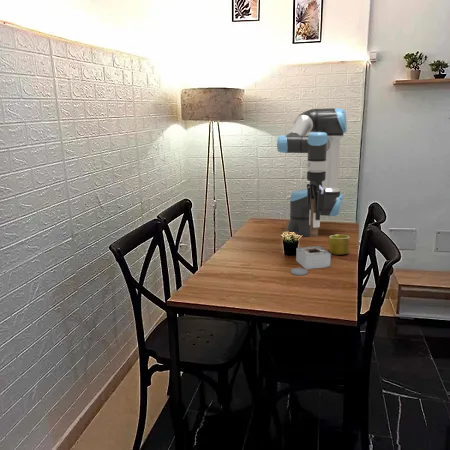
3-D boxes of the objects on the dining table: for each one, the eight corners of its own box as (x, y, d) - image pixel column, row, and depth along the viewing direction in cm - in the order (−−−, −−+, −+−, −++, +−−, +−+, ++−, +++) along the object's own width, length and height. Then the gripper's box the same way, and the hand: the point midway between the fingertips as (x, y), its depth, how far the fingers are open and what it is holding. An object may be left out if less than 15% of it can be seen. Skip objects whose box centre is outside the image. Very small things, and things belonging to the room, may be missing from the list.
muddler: (308, 234, 188) (309, 198, 183) (316, 234, 189) (317, 198, 184) (311, 237, 185) (313, 200, 180) (319, 236, 185) (320, 199, 181)
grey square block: (296, 260, 194) (296, 247, 192) (319, 258, 196) (319, 245, 194) (305, 269, 183) (306, 255, 182) (330, 266, 186) (330, 253, 184)
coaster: (288, 270, 183) (288, 268, 182) (303, 268, 184) (303, 267, 184) (294, 276, 176) (294, 274, 176) (310, 274, 178) (310, 273, 177)
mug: (354, 253, 196) (347, 232, 196) (331, 259, 199) (325, 238, 199) (353, 250, 208) (347, 230, 208) (332, 255, 210) (326, 235, 210)
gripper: (300, 168, 186) (298, 221, 192) (316, 174, 170) (314, 231, 177) (316, 167, 187) (314, 220, 194) (333, 173, 172) (331, 230, 178)
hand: (314, 225), depth 185 cm, fingers closed on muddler, 3 cm apart
